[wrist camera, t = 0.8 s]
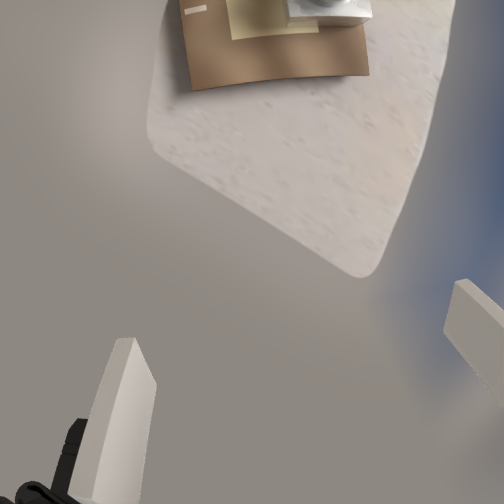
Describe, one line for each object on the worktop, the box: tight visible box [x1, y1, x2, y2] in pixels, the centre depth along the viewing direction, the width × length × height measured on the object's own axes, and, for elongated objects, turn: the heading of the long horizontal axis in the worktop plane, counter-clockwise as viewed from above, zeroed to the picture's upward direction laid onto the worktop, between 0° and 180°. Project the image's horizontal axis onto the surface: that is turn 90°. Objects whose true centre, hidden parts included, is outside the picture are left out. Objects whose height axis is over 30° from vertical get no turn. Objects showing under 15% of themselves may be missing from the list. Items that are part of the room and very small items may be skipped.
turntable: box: [179, 0, 370, 91], centre depth 21 cm, size 16×16×2 cm
